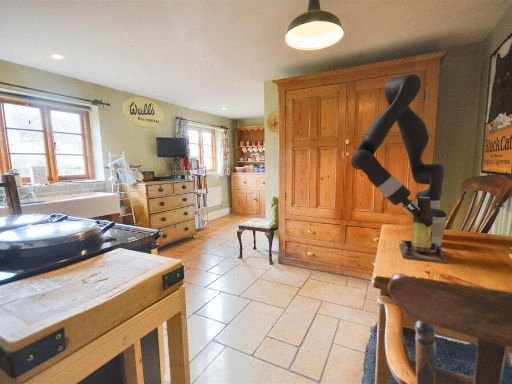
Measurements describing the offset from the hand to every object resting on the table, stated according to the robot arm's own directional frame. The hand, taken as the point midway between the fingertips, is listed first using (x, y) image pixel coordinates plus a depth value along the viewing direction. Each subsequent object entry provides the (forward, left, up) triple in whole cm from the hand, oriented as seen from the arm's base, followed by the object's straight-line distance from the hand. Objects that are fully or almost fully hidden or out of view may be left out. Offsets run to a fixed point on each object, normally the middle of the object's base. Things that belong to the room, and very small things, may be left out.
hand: (428, 223), depth 91 cm
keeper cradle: (0, -2, -12) cm, 13 cm away
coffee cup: (-16, +4, -13) cm, 21 cm away
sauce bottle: (0, -2, -10) cm, 11 cm away
